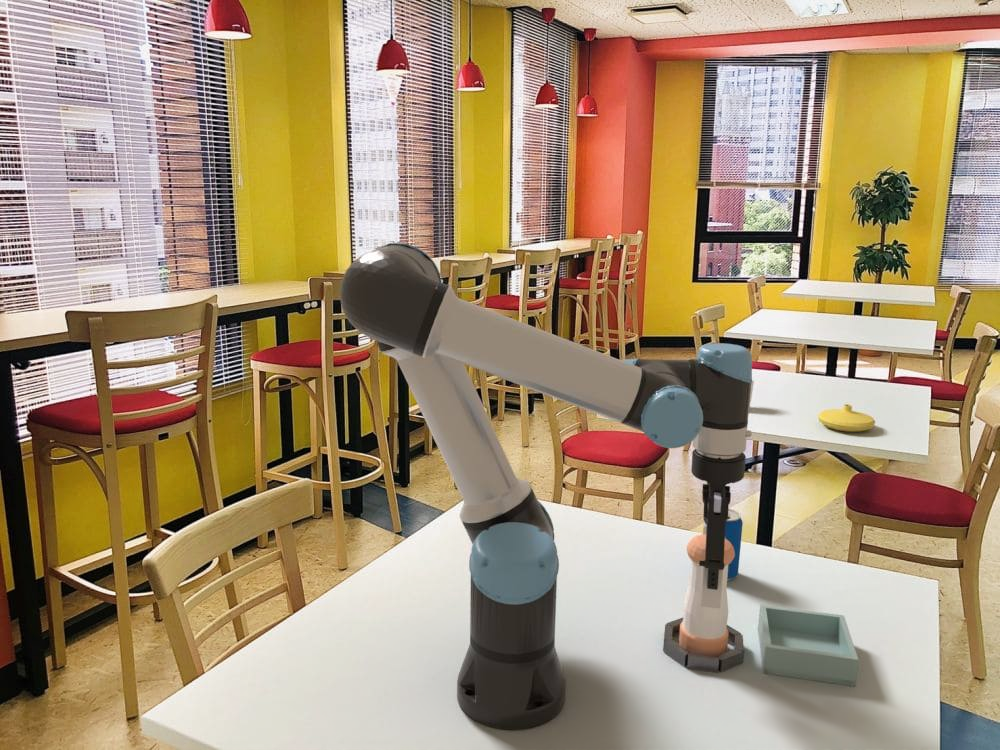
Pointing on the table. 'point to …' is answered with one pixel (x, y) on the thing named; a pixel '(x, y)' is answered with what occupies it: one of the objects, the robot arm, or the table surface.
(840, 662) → the bin
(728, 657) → the collar
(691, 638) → the salt shaker
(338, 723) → the table surface
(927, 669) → the table surface
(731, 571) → the beverage can
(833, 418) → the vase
